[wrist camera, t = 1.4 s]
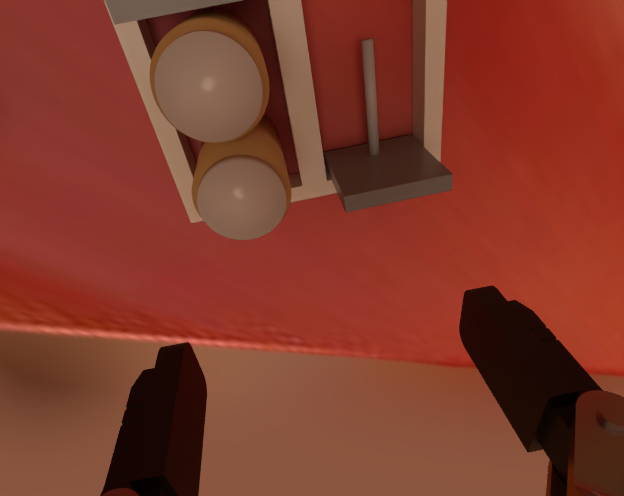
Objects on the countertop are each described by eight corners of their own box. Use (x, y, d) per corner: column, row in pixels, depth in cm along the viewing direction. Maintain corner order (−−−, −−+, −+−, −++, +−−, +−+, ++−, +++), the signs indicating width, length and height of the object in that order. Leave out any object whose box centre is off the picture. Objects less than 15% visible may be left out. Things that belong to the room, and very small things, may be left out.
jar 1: (160, 16, 26) (124, 35, 18) (250, -1, 26) (255, 10, 18) (190, 108, 29) (171, 159, 21) (270, 93, 30) (281, 137, 21)
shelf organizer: (56, -156, 21) (-31, -218, 14) (436, -222, 22) (525, -312, 15) (194, 210, 34) (183, 267, 27) (428, 161, 35) (473, 206, 28)
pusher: (308, 45, 28) (328, 66, 21) (409, 25, 28) (460, 41, 22) (325, 165, 33) (345, 212, 27) (410, 148, 33) (451, 190, 27)
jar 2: (192, 114, 30) (174, 166, 21) (271, 98, 30) (282, 144, 22) (216, 185, 33) (208, 254, 25) (286, 171, 33) (300, 234, 25)
